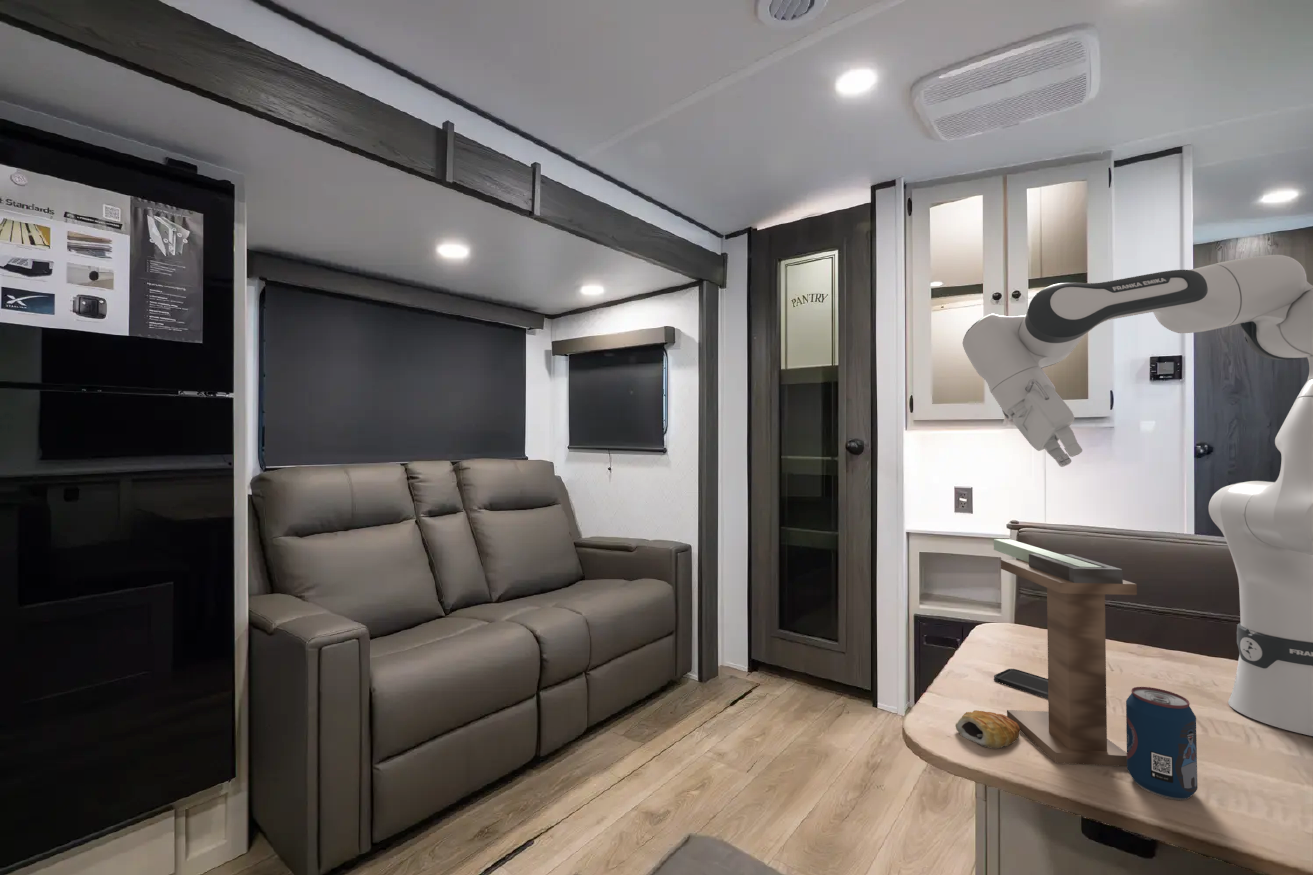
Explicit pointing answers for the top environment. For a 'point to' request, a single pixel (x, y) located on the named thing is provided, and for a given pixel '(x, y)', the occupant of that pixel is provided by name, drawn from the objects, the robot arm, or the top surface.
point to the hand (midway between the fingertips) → (1071, 460)
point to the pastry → (988, 729)
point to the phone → (1024, 681)
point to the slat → (1034, 552)
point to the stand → (1073, 660)
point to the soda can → (1161, 743)
